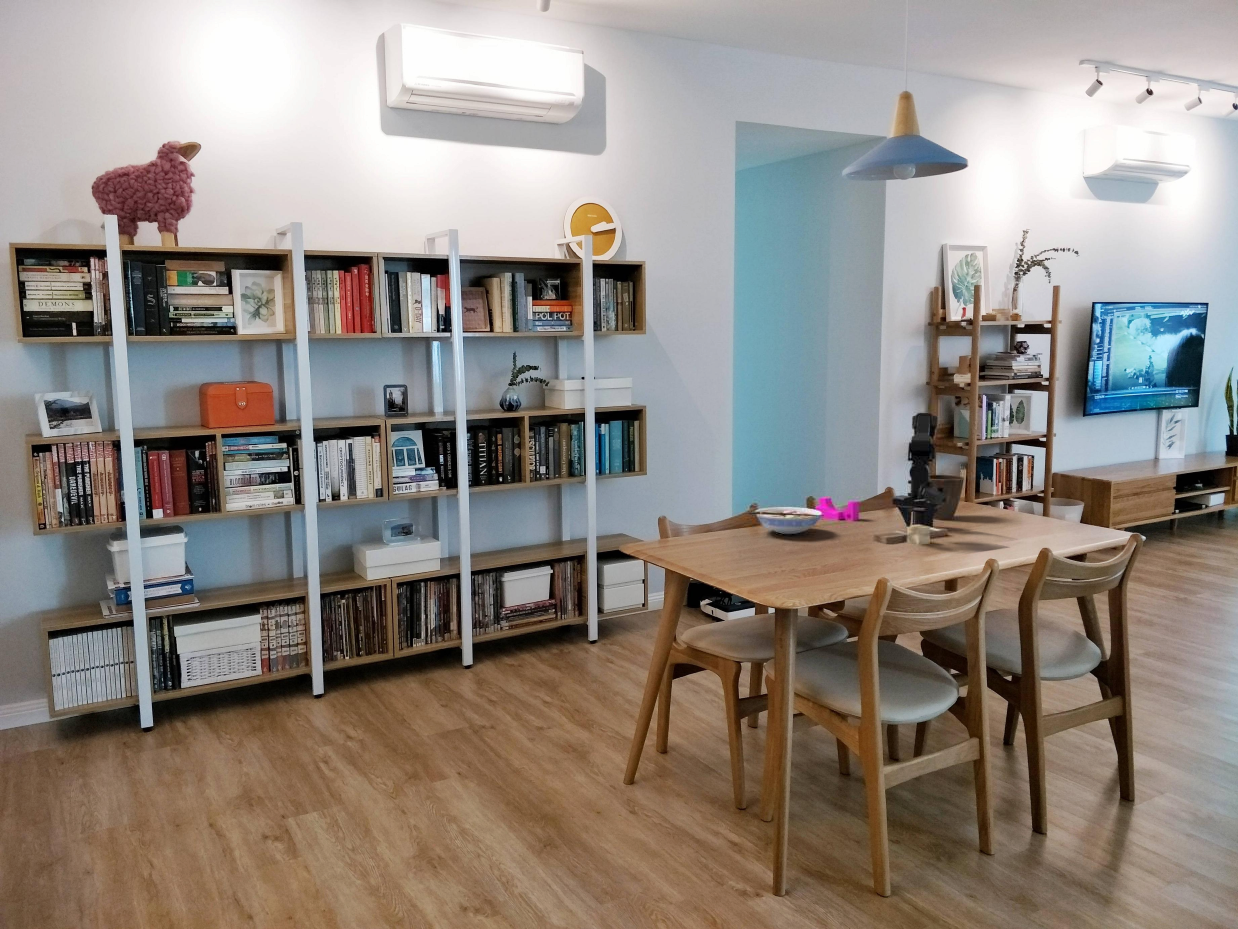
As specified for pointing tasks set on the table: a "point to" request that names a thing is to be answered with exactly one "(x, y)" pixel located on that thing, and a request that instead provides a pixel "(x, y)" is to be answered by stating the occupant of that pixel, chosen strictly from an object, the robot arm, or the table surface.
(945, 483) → the plant pot
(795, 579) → the table surface
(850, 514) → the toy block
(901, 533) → the walnut plank
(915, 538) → the cream cube
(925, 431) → the robot arm
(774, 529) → the ramen bowl
